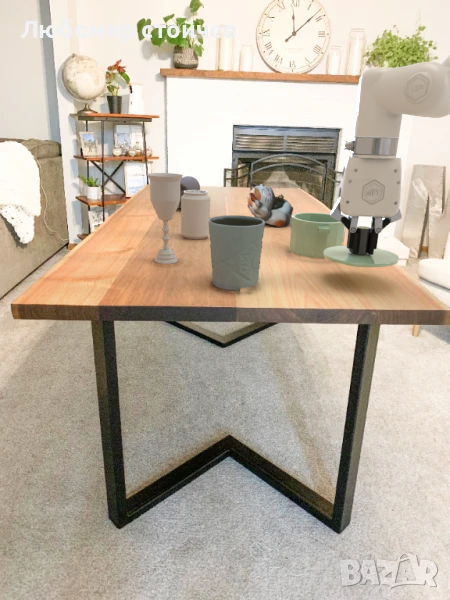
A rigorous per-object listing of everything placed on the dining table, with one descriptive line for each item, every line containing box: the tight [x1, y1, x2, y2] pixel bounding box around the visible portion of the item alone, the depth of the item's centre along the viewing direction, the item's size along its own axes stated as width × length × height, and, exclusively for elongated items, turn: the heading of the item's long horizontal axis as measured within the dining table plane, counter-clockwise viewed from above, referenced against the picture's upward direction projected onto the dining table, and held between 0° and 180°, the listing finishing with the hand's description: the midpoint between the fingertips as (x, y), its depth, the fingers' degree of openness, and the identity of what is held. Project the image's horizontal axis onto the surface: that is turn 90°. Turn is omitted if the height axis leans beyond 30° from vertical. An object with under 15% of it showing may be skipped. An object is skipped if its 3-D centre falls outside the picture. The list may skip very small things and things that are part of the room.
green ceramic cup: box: [208, 214, 266, 292], centre depth 81 cm, size 10×10×12 cm
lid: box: [323, 225, 400, 268], centre depth 82 cm, size 14×14×6 cm
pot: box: [287, 212, 347, 259], centre depth 105 cm, size 13×18×8 cm
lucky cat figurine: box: [246, 182, 294, 228], centre depth 135 cm, size 15×12×14 cm
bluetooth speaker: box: [177, 176, 201, 209], centre depth 160 cm, size 23×9×10 cm, turn 174°
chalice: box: [146, 172, 184, 265], centre depth 93 cm, size 7×7×18 cm
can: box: [180, 189, 211, 240], centre depth 115 cm, size 8×8×12 cm
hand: (360, 251), depth 83 cm, fingers closed on lid, 2 cm apart
